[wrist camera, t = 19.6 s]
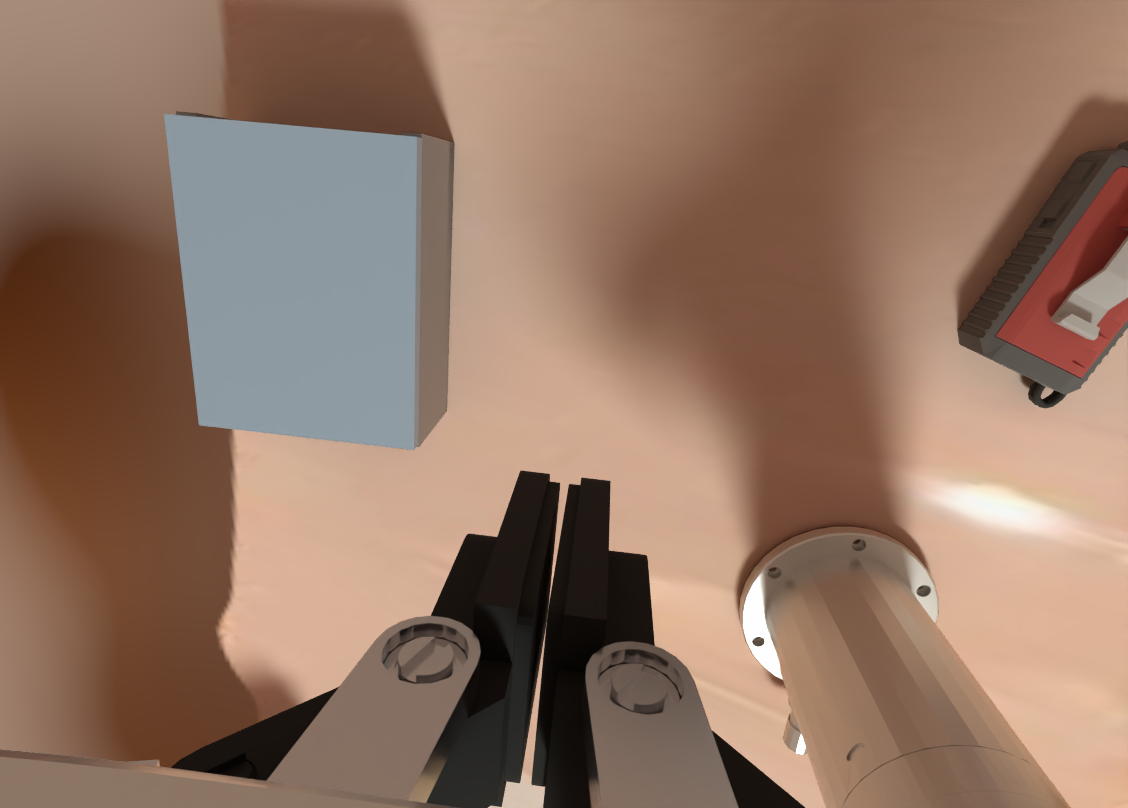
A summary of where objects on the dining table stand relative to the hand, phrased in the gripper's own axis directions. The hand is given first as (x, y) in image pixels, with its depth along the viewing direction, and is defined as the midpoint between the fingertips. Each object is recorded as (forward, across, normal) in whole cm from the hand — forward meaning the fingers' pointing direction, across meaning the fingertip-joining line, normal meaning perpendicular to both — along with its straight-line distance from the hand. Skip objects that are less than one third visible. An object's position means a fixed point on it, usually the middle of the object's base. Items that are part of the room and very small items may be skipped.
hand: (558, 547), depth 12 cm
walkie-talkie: (+28, -27, -7) cm, 40 cm away
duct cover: (+21, +15, 0) cm, 26 cm away
